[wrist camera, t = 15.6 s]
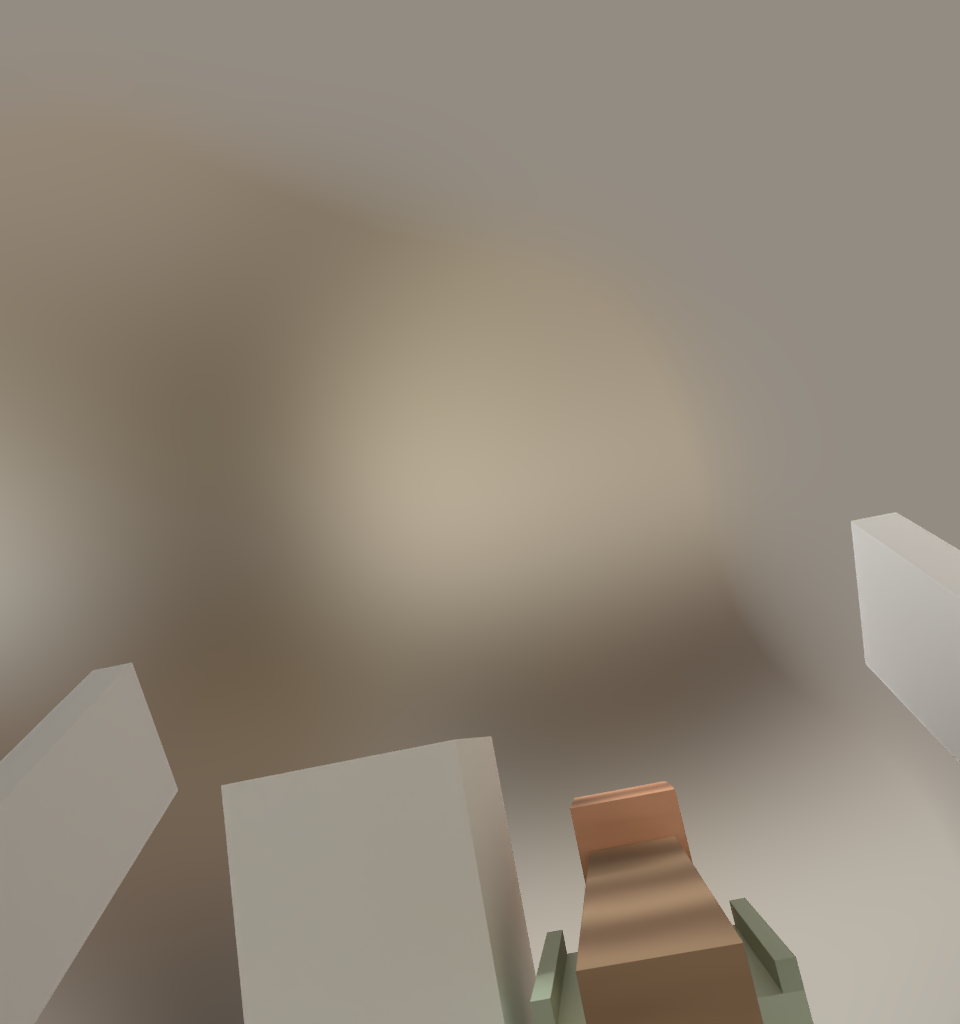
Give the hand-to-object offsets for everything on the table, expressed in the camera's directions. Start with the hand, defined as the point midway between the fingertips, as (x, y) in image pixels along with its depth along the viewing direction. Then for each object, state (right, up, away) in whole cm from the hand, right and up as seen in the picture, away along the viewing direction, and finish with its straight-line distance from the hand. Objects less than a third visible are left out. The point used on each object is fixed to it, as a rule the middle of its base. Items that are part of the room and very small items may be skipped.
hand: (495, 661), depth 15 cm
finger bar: (+7, -15, +16) cm, 23 cm away
